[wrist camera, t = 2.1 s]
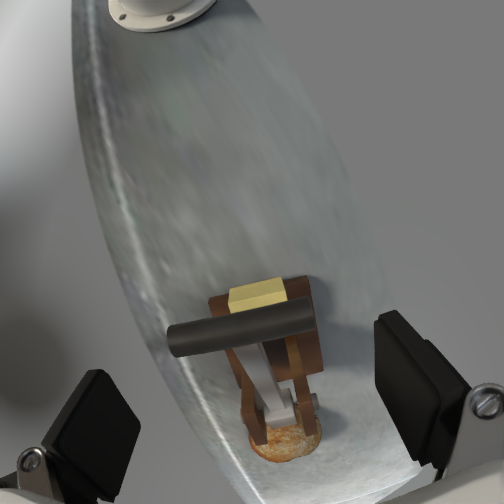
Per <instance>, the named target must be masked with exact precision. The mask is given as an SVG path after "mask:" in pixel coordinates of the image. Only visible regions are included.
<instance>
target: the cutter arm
mask: <svg viewBox="0 0 504 504" xmlns="http://www.w3.org/2000/svg"><path fill="white" fill-rule="evenodd" d="M315 328H316V324H315V318H314V313H313V309H312V306H311V302H310V299H309V297H308V296H304V297H300V298H296V299H292V300H288V301H283V302H279V303H275V304H271V305H267V306H262V307H258V308H254V309H249V310H245V311H240V312H235V313H231V314H226V315H221V316H216V317H212V318H207V319H202V320H197V321H191V322H186V323H181V324H176V325H171V326H169V327H168V329H167V342H168V346H169V349H170V351H171V353H172V355H173V356H174V357H177V358H178V357H184V356H191V355H197V354H203V353H209V352H215V351H221V350H226V349H231V348H232V349H233V350H234V352H235V354H236V355H237V357H238V359H239V361H240V362H241V364H242V366H243V367H244V369H245V371H246V372H247V374H248V376H249V377H250V379H251V380H252V382H253V384H254V385H255V387H256V389H257V390H258V392H259V393H260V395H261V398H262V405H263V411H264V418H265V422H266V423H267V424H268V425H269V427H270V428H271V429H273V428H279V427H284V426H289V425H294V424H297V423H298V422H297V417H296V412H295V407H294V402H293V398H292V395H291V392H290V389H289V388H287V389H282V390H280V387H279V385H278V383H277V380H276V378H275V375H274V373H273V370H272V368H271V365H270V363H269V360H268V358H267V355H266V353H265V350H264V348H263V345H262V342H266V341H270V340H274V339H279V338H283V337H287V336H292V335H296V334H300V333H304V332H308V331H312V330H315Z"/></svg>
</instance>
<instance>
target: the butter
mask: <svg viewBox="0 0 504 504" xmlns="http://www.w3.org/2000/svg"><path fill="white" fill-rule="evenodd" d="M283 301H288V300H287V296H286V291H285V288H284V284H283V281H282V278H281V277H277V278H273V279H269V280H265V281H261V282H256V283H252V284H248V285H244V286H239V287H235V288H231V289H230V292H229V300H228V306H229V309H230V312H231V313H235V312H240V311H245V310H249V309H254V308H258V307H262V306H267V305H271V304H275V303H279V302H283Z"/></svg>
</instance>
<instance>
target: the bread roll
mask: <svg viewBox="0 0 504 504" xmlns="http://www.w3.org/2000/svg"><path fill="white" fill-rule="evenodd" d="M294 407H295V412H296V417H297V422H298V423H297V424H294V425H289V426H284V427H279V428H273V429H271V428H270V427H269V425H268V424H267V423H266V425H267V439H268V444H266V445H260V446H256V445H255V443H254V441H253V439H252V437H251V435H250V433H249V442H250V445H251V447H252V449H253V450H254V451H255V452H256V453H257V454H258V455H259V456H261V457H263V458H264V459H266V460H268V461H271V462H276V463H279V462H288V461H290V460H292V459H294V458H297V457H301V456H305V455H309V454H311V453H312V452H313V451H314V450H315V449H316V448H317V447H318V445H319V443H320V440H321V435H322V429H321V425H320V422H319V420H318V417H317V416H316V415H315V419H316V425H317V430H318V434H316V435H312V436H307V437H306V436H305V432H304V428H303V423H302V419H301V415H300V411H299V406H298V405H294ZM314 413H315V411H314Z"/></svg>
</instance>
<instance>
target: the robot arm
mask: <svg viewBox="0 0 504 504" xmlns="http://www.w3.org/2000/svg"><path fill="white" fill-rule="evenodd" d="M215 2H216V0H109V5H108V7H109V11H110V14H111V16H112V17H113V19H114V20H115V21H116V22H117V23H118V24H119V25H121V26H122V27H124V28H125V29H128V30H131V31H136V32H157V31H163V30H167V29H171V28H174V27H177V26H180V25H182V24H185V23H187V22H189V21H191V20H193V19H194V18H196V17H198V16H199V15H201V14H202V13H203V12H205V11H206V10H208V9H209V8H210V7H211V6H212V5H213V4H214V3H215ZM374 344H375V385H376V388H377V391H378V393H379V394H380V396H381V398H382V400H383V402H384V404H385V406H386V408H387V410H388V412H389V414H390V416H391V418H392V420H393V422H394V424H395V426H396V428H397V430H398V432H399V434H400V436H401V438H402V440H403V442H404V444H405V446H406V448H407V450H408V452H409V455H410V457H411V459H412V460H413V461H417V460H418V461H419V463H420V465H421V467H422V466H424V465H426V464H428V463H430V462H431V463H432V465H433V467H434V468H435V469H437V470H436V472H435V475H434V478H433V480H432V483H431V484H429V485H427V486H425V487H422V488H419V489H417V490H414V491H412V492H409V493H407V494H405V495H402V496H399V497H396V498H394V499H392V500H388V501H386V502H383V503H380V504H504V387H503V386H501V385H499V384H495V383H484V384H481V385H478V386H476V387H474V388H473V389H472V388H471V387H470V386H469V384H468V383H467V382H466V381H465V380H464V379H463V377H462V376H461V375H460V374H459V373H458V372H457V370H456V369H455V368H454V367H453V366H452V365H451V364H450V363H449V362H448V360H447V359H446V358H445V357H444V356H443V355H442V354H441V352H440V351H439V350H438V349H437V348H436V347H435V346H434V345H433V344H432V343H431V342H430V341H429V340H426V339H425V340H424V339H423V338H422V337H421V336H420V335H419V334H418V333H417V332H416V331H415V330H414V328H413V327H412V326H411V325H410V324H409V323H408V322H407V321H406V320H405V319H404V318H403V317H402V316H401V315H400V313H399V312H398V311H396V310H392V311H390V312H387V313H383V314H380V315H379V317H378V320H376V321H374ZM140 429H141V425H140V421H139V420H138V418H137V417H136V416H135V414H134V413H133V411H132V410H131V408H130V407H129V405H128V404H127V402H126V401H125V399H124V398H123V396H122V395H121V393H120V392H119V390H118V388H117V387H116V385H115V384H114V382H113V380H112V379H111V377H110V376H109V374H108V373H106V372H105V371H104V370H102V369H96V370H88V371H87V372H86V374H85V375H84V377H83V378H82V380H81V381H80V383H79V384H78V386H77V387H76V388H75V390H74V392H73V393H72V395H71V396H70V398H69V399H68V401H67V402H66V404H65V405H64V407H63V408H62V410H61V411H60V413H59V415H58V416H57V418H56V419H55V421H54V423H53V424H52V426H51V427H50V429H49V431H48V432H47V434H46V435H45V437H44V439H43V440H42V442H41V445H42V446H43V447H44V448H45V449H46V450H47V451H46V453H44V452H43V451H42V450H41V448H38V447H31V448H28V449H26V450H25V451H24V452H22V453H21V455H20V456H19V458H18V461H17V471H16V472H13V473H11V474H9V475H7V476H5V477H2V478H0V504H98V502H97V498H100V499H101V500H102V501H107V502H112V503H114V500H115V497H116V496H117V495H118V494H119V492H120V488H121V485H122V482H123V479H124V476H125V473H126V470H127V467H128V464H129V461H130V458H131V455H132V452H133V449H134V446H135V444H136V441H137V438H138V435H139V432H140Z"/></svg>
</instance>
